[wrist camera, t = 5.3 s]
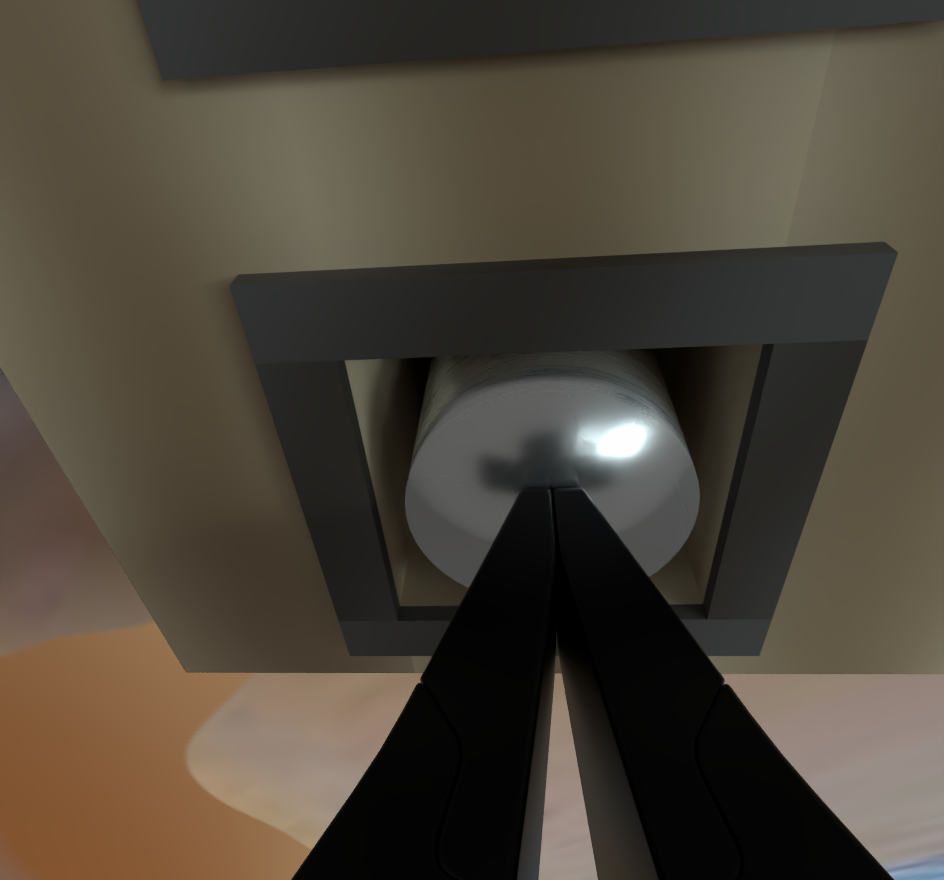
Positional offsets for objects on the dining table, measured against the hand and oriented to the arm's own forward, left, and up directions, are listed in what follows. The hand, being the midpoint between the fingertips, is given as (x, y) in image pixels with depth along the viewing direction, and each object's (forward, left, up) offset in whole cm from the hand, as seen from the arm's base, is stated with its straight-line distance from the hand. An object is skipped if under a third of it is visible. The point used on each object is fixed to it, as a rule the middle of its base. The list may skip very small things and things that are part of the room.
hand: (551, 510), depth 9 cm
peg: (0, 0, -6) cm, 6 cm away
